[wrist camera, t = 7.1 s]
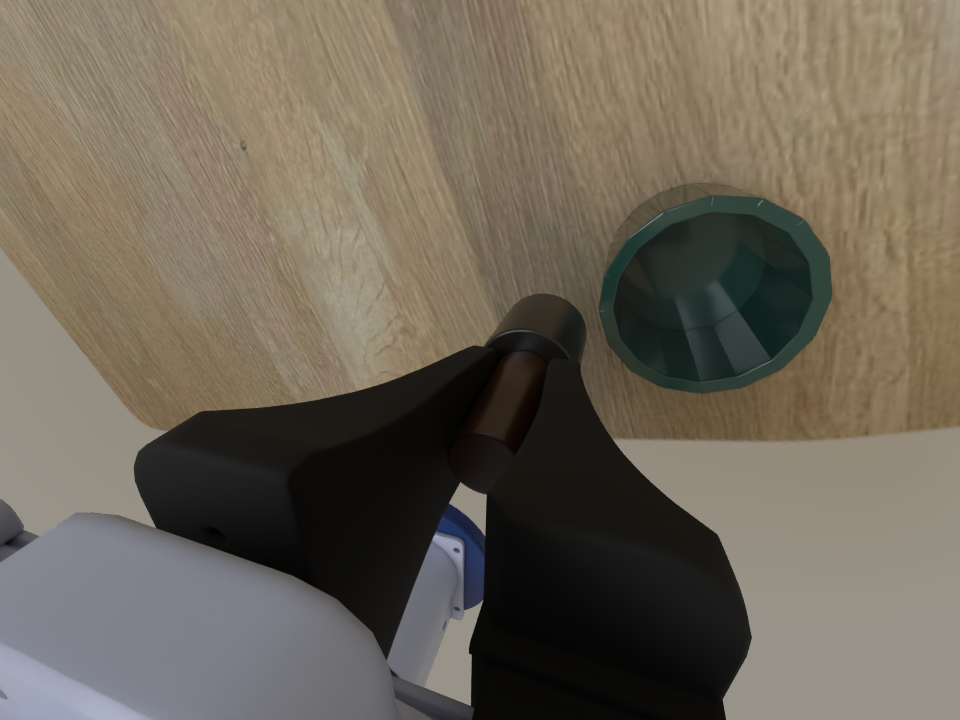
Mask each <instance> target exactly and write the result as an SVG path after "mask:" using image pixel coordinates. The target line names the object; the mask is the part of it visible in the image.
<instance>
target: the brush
mask: <svg viewBox="0 0 960 720" xmlns="http://www.w3.org/2000/svg"><path fill="white" fill-rule="evenodd" d="M586 335H587V334H586V326H585V322H584V320H583V318H582V316H581V314H580V313H579V311H578V310H577V309H576V308H575V307H574V306H573V305H572V304H571V303H570V302H568V301H567V300H565V299H563V298H561V297H559V296H555V295H551V294H535V295H531V296H528V297H525V298H523V299H521V300H520V301H519V302H517V303H516V304H515V305H514V306H513V307H512V308H511V310H510V311H509V312H508V314H507V315H506V316H505V318H504V319H503V321H502V322H501V323H500V325H499V326H498V327H497V329H496V330H495V331H494V333H493V334H492V335H491V337H490V338H489V340H488V341H487V342H486V344H485V345H484V347H487V348H494V349H496V360H495V370H494V372H493V373H492V375H491V376H490V378H489V380H488V381H487V383H486V385H485V386H484V388H483V390H482V391H481V393H480V395H479V396H478V398H477V399H476V401H475V403H474V404H473V406H472V408H471V409H470V411H469V413H468V414H467V416H466V418H465V419H464V421H463V423H462V424H461V426H460V427H459V429H458V431H457V432H456V434H455V436H454V437H453V439H452V441H451V442H450V444H449V447H448V453H447V457H448V463H449V466H450V469H451V470H452V472H453V474H454V475H455V476H456V478H457V479H458V480H459V481H460V482H461V483H463V484H464V485H465V486H467V487H468V488H470V489H472V490H474V491H476V492H479V493H482V494H486V495H487V492H488V491H489V490H490V489H491V488H492V487H493V486H494V484H495V483H496V482H497V480H498V479H499V478H500V477H501V475H502V474H503V473H504V471H505V470H506V469H507V467H508V466H509V464H510V463H511V461H512V460H513V458H514V456H515V455H516V453H517V451H518V450H519V448H520V447H521V445H522V443H523V441H524V439H525V437H526V435H527V433H528V431H529V429H530V427H531V425H532V423H533V421H534V419H535V417H536V414H537V412H538V410H539V406H540V403H541V398H542V393H543V388H544V382H545V377H546V372H547V367H548V364H549V363H550V361H551V360H552V358H559V359H566V360H573V361H577V362H578V363H579V364H580V365H581V360H582V356H583V351H584V347H585V343H586Z"/></svg>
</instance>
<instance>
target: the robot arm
mask: <svg viewBox="0 0 960 720" xmlns="http://www.w3.org/2000/svg"><path fill="white" fill-rule="evenodd" d="M495 360H496V349H494V348H487V347H481V346H471V347H469V348H466V349H464V350H461V351H459V352H457V353H455V354H453V355H450V356H448V357H446V358H444V359H442V360H440V361H437V362H435V363H433V364H431V365H429V366H427V367H424V368H422V369H419V370H417V371H414V372H412V373H410V374H407V375H405V376H402V377H400V378H397V379H395V380H392V381H389V382H386V383H383V384H380V385H377V386H373V387H370V388H367V389H363V390H360V391H356V392H352V393H347V394H343V395H338V396H334V397H329V398H324V399H320V400H315V401H309V402H302V403H296V404H289V405H281V406H273V407H263V408H250V409H234V410H219V411H202V412H199V413H197V414H196V415H194V416H193V417H191V418H189V419H188V420H186V421H184V422H183V423H181V424H179V425H178V426H176V427H175V428H173V429H171V430H170V431H168V432H166V433H165V434H163V435H162V436H160V437H158V438H157V439H155V440H153V441H152V442H150V443H149V444H147V445H146V446H145V447H143V448H142V449H141V450H140V451H139V452H138V454H137V457H136V460H135V464H134V475H135V482H136V484H137V487H138V490H139V493H140V495H141V498H142V499H143V502H144V503H145V506H146V508H147V510H148V512H149V514H150V516H151V518H152V520H153V522H154V524H155V526H156V528H154V527H151V526H148V525H145V524H142V523H139V522H137V521H134V520H131V519H128V518H125V517H122V516H119V515H111V514H100V513H75V514H73V515H72V516H70V517H69V518H67V519H66V520H64V521H63V522H61V523H59V524H58V525H56V526H55V527H53V528H52V529H50V530H49V531H47V532H46V533H44V534H43V535H41V536H37V535H35V534H32V533H30V532H27V531H25V530H23V528H24V525H23V524H22V522H21V520H20V519H19V517H18V516H17V514H16V513H15V512H14V511H13V509H12V508H11V507H10V506H9V505H8V504H7V503H5V502H4V501H3V500H2V499H0V720H726V717H725V711H724V705H723V698H724V696H725V694H726V692H727V690H728V689H729V687H730V685H731V683H732V681H733V680H734V678H735V676H736V674H737V673H738V671H739V669H740V667H741V666H742V664H743V662H744V660H745V658H746V657H747V653H748V650H749V646H750V642H751V639H752V636H751V632H750V627H749V621H748V616H747V611H746V607H745V604H744V600H743V597H742V593H741V590H740V587H739V585H738V582H737V580H736V577H735V575H734V572H733V570H732V567H731V565H730V562H729V560H728V558H727V555H726V553H725V550H724V548H723V546H722V543H721V541H720V539H719V537H718V535H717V534H716V533H715V532H713V531H712V530H710V529H709V528H708V527H706V526H705V525H704V524H703V523H701V522H700V521H698V520H697V519H696V518H694V517H693V516H691V515H690V514H689V513H688V512H686V511H685V510H684V509H682V508H681V507H679V506H678V505H677V504H675V503H674V502H673V501H672V500H671V499H669V498H668V497H667V496H666V495H665V494H663V493H662V492H661V491H660V490H659V489H658V488H657V487H656V486H654V485H653V484H652V483H651V482H650V481H649V480H648V479H647V478H646V477H645V476H644V475H643V474H642V473H641V472H640V471H639V470H638V469H637V468H636V467H635V466H634V465H633V464H632V463H631V462H630V461H629V460H628V458H627V457H626V456H625V455H624V454H623V453H622V451H621V450H620V449H619V448H618V446H617V445H616V444H615V442H614V441H613V439H612V438H611V437H610V435H609V434H608V432H607V431H606V429H605V427H604V426H603V424H602V422H601V421H600V419H599V417H598V415H597V413H596V411H595V409H594V407H593V405H592V403H591V401H590V398H589V396H588V394H587V391H586V389H585V386H584V383H583V379H582V376H581V369H580V368H581V366H580V364H579V363H578V362H577V361H573V360H566V359H559V358H552V360H551V361H550V363H549V364H548V367H547V372H546V377H545V382H544V388H543V393H542V398H541V403H540V406H539V410H538V412H537V414H536V417H535V419H534V421H533V423H532V425H531V427H530V429H529V431H528V433H527V435H526V437H525V439H524V441H523V443H522V445H521V447H520V448H519V450H518V451H517V453H516V455H515V456H514V458H513V460H512V461H511V463H510V464H509V466H508V467H507V469H506V470H505V471H504V473H503V474H502V475H501V477H500V478H499V479H498V480H497V482H496V483H495V484H494V486H493V487H492V488H491V489H490V490H489V491H488V492H487V505H486V536H485V564H484V593H483V603H482V607H481V610H480V613H479V616H478V619H477V623H476V625H475V628H474V632H473V635H472V638H471V641H470V646H469V654H472V675H471V676H472V677H471V706H469V705H467V704H464V703H462V702H459V701H456V700H454V699H451V698H449V697H446V696H444V695H441V694H439V693H436V692H434V691H431V690H428V689H426V688H424V686H425V684H426V681H427V678H428V676H429V673H430V670H431V668H432V665H433V662H434V660H435V657H436V655H437V652H438V649H439V647H440V644H441V641H442V639H443V636H444V633H445V631H446V628H447V625H448V622H449V620H450V618H453V619H456V620H462V619H463V616H464V569H465V543H464V541H463V540H462V539H461V538H459V537H456V536H452V535H449V534H445V533H442V532H438V531H436V530H437V527H438V525H439V523H440V520H441V518H442V516H443V514H444V512H445V510H446V508H447V506H448V504H449V502H450V500H451V498H452V496H453V494H454V493H455V491H456V489H457V487H458V486H459V484H460V481H459V480H458V479H457V478H456V476H455V475H454V474H453V472H452V470H451V469H450V466H449V463H448V457H447V453H448V447H449V444H450V442H451V441H452V439H453V437H454V436H455V434H456V432H457V431H458V429H459V427H460V426H461V424H462V423H463V421H464V419H465V418H466V416H467V414H468V413H469V411H470V409H471V408H472V406H473V404H474V403H475V401H476V399H477V398H478V396H479V395H480V393H481V391H482V390H483V388H484V386H485V385H486V383H487V381H488V380H489V378H490V376H491V375H492V373H493V372H494V370H495Z"/></svg>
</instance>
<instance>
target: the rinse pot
mask: <svg viewBox="0 0 960 720" xmlns="http://www.w3.org/2000/svg"><path fill="white" fill-rule="evenodd" d="M831 297H832V286H831V272H830V258H829V255H828V252H827V251H826V249H825V248H824V246H823V245H822V243H821V242H820V241H819V239H818V238H817V236H816V235H815V233H814V232H813V231H812V229H811V228H810V226H809V225H808V223H807V222H806V220H804V219H803V218H802V217H800V216H798V215H796V214H794V213H792V212H790V211H788V210H786V209H784V208H782V207H780V206H778V205H776V204H774V203H772V202H770V201H768V200H766V199H764V198H762V197H759V196H756V195H753V194H750V193H748V192H745V191H742V190H739V189H736V188H734V187H731V186H727V185H717V184H708V183H695V184H687V185H682V186H678V187H674V188H671V189H668V190H666V191H663V192H661V193H659V194H657V195H655V196H653V197H652V198H650V199H648V200H647V201H645V202H644V203H643V204H641V205H640V206H639V207H638V208H636V209H635V210H634V211H633V212H632V213H631V214H630V215H629V216H628V217H627V219H626V220H625V221H624V222H623V224H622V225H621V227H620V228H619V229H618V231H617V233H616V235H615V237H614V239H613V241H612V243H611V244H610V247H609V252H608V257H607V262H606V268H605V273H604V279H603V285H602V291H601V297H600V303H599V314H600V318H601V322H602V325H603V329H604V333H605V336H606V340H607V342H608V345H609V346H610V347H611V348H612V350H613V351H614V352H615V353H616V354H617V356H618V357H619V358H620V359H621V361H622V362H623V363H624V364H625V365H626V367H627V368H628V369H630V371H632V372H634V373H635V374H637V375H639V376H641V377H643V378H645V379H646V380H648V381H650V382H652V383H654V384H656V385H657V386H659V387H663V388H667V389H673V390H679V391H685V392H692V393H698V394H700V393H701V394H704V393H711V392H718V391H725V390H732V389H739V388H742V387H745V386H748V385H750V384H752V383H754V382H756V381H758V380H760V379H762V378H764V377H766V376H769V375H771V374H773V373H775V372H777V371H779V370H781V369H782V368H784V367H785V366H786V365H787V364H788V363H789V362H790V361H791V360H792V359H793V358H794V357H795V356H796V355H797V354H798V353H799V352H800V351H801V350H802V349H803V348H804V347H806V346H807V345H808V344H809V343H810V342H811V341H812V340H813V338H814V337H815V336H816V333H817V331H818V329H819V327H820V324H821V322H822V320H823V317H824V315H825V313H826V310H827V308H828V306H829V303H830V301H831Z"/></svg>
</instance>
